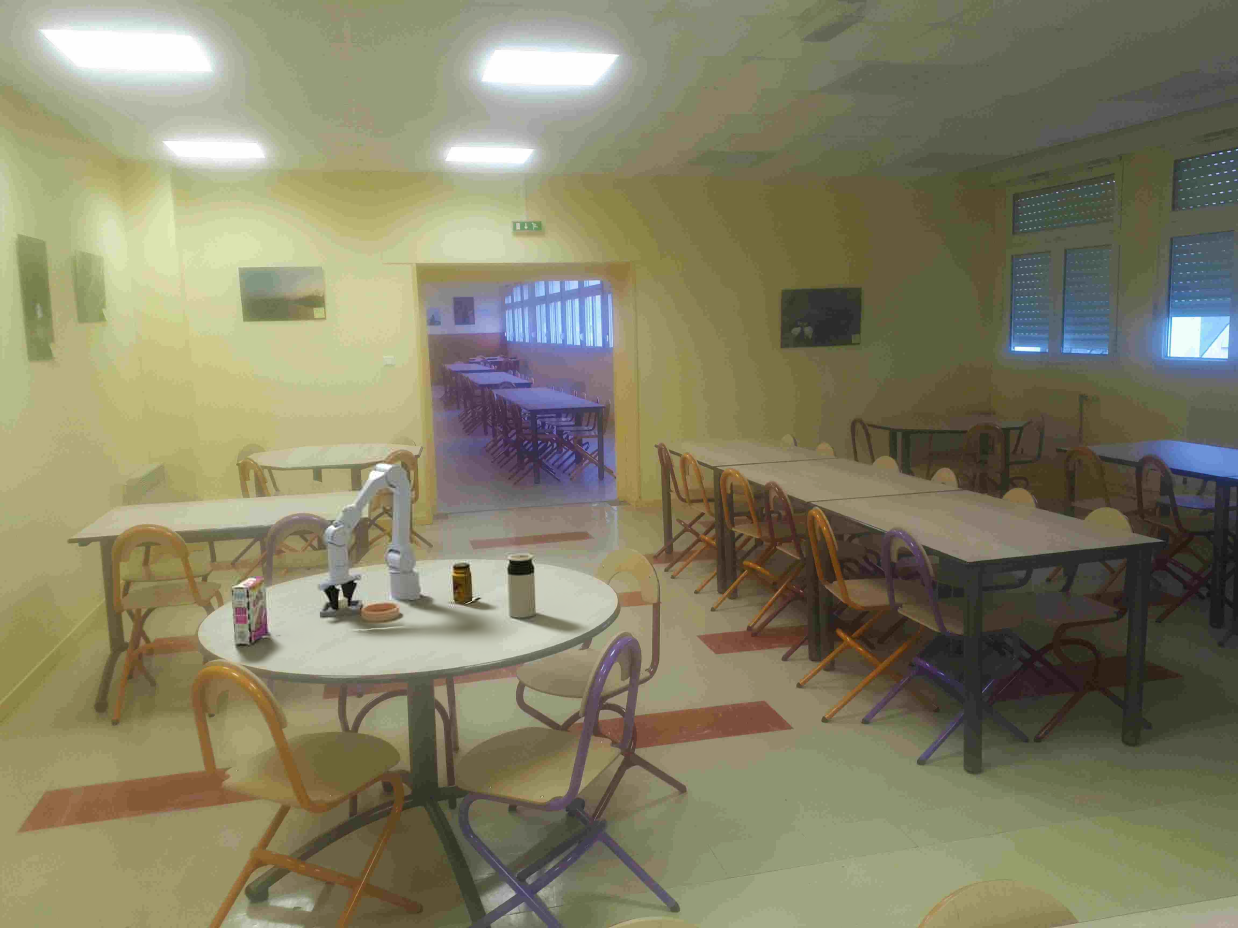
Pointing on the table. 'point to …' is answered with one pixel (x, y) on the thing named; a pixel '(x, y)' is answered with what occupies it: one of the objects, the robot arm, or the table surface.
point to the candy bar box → (249, 611)
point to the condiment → (462, 583)
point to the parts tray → (352, 610)
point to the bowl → (380, 611)
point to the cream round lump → (342, 603)
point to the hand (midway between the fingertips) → (341, 607)
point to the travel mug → (521, 586)
